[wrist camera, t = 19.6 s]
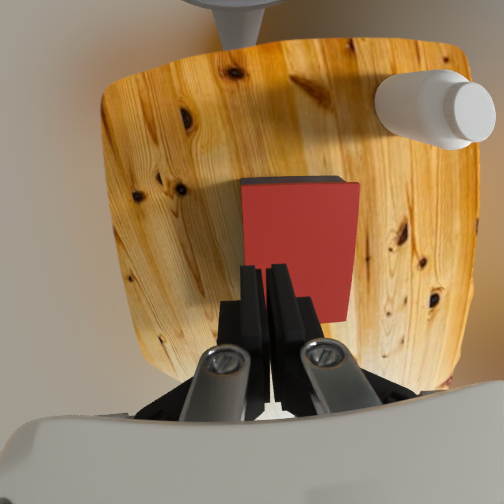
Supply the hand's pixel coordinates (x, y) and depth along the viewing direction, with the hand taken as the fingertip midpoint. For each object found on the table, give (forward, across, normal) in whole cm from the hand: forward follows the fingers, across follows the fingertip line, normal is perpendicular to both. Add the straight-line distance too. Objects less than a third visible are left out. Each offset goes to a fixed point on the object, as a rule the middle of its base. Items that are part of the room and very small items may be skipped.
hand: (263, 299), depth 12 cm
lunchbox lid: (+20, -5, +9) cm, 23 cm away
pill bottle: (+27, -19, -8) cm, 34 cm away
